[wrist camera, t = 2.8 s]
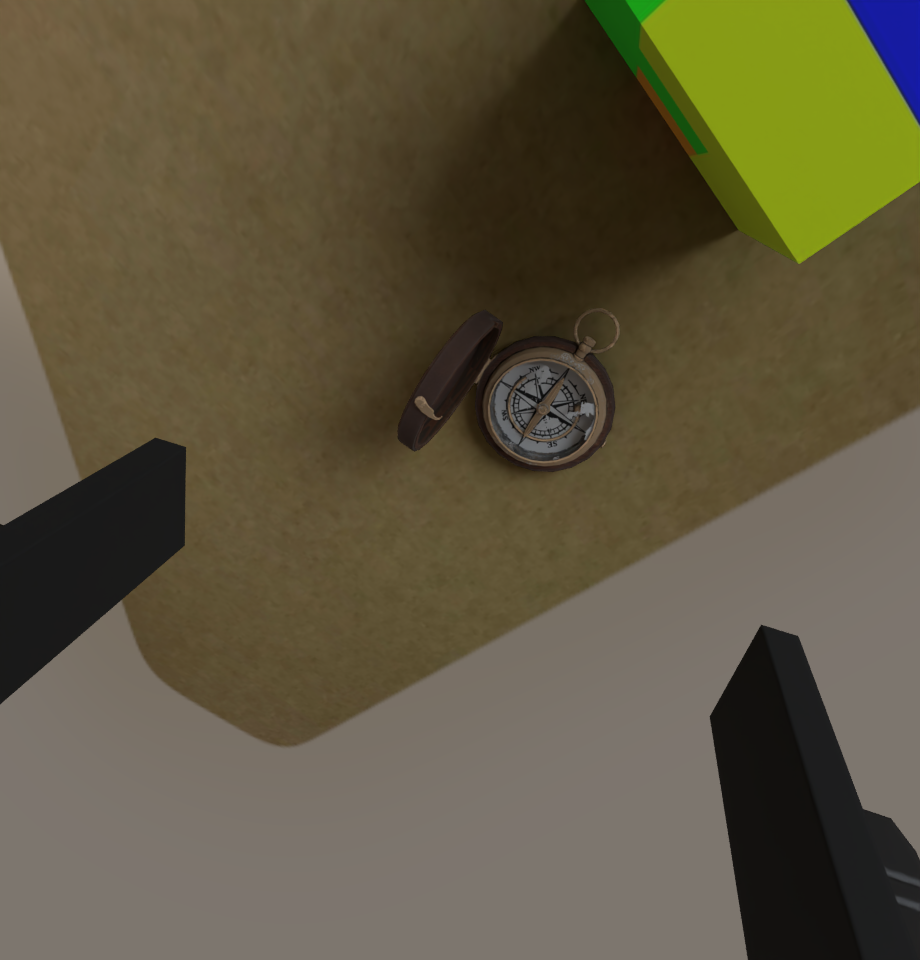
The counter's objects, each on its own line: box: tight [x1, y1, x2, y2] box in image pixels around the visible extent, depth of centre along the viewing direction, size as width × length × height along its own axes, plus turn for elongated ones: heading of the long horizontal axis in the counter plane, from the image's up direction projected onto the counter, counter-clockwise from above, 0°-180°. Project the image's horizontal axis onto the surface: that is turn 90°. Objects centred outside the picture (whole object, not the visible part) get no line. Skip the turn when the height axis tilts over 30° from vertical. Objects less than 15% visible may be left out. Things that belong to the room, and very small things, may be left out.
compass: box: [398, 308, 620, 472], centre depth 26 cm, size 8×8×7 cm
